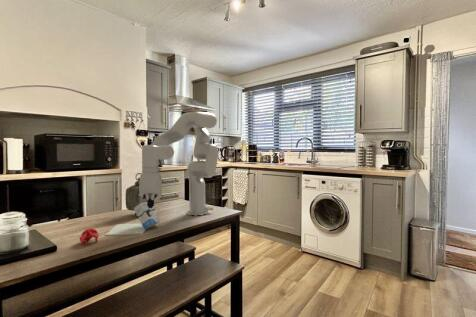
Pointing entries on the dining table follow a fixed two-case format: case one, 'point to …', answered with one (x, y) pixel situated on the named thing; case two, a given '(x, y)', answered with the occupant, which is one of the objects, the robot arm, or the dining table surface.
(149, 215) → the ink box
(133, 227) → the mat
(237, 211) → the dining table surface
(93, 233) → the red hair claw clip
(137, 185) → the tabletop clock
